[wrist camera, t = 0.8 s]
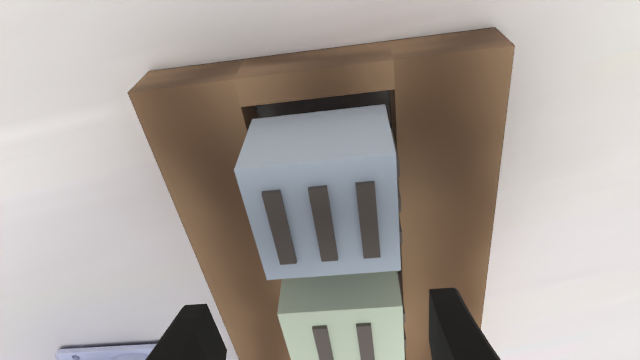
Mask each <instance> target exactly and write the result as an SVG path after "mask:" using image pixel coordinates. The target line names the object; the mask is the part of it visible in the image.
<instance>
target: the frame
mask: <svg viewBox="0 0 640 360" xmlns="http://www.w3.org/2000/svg"><path fill="white" fill-rule="evenodd" d="M514 48H515V45H514V44H513V43H512V42H510V41H509V40H508V39H507V38H506V37H505V36H504V35H503V34H502V33H501V32H500V31H499V30H497V29H496V28H487V29H479V30H471V31H463V32H455V33H447V34H439V35H432V36H424V37H416V38H408V39H400V40H392V41H384V42H376V43H368V44H360V45H353V46H345V47H337V48H329V49H321V50H313V51H305V52H297V53H289V54H281V55H274V56H266V57H258V58H250V59H242V60H234V61H226V62H218V63H210V64H202V65H195V66H187V67H179V68H171V69H163V70H155V71H149V72H148V73H147V74H146V75H145V76H144V77H143V78H142V79H141V80H140V81H139V82H138V83H137V84H136V85H135V86H134V87H133V88H132V89H131V90H130V91H129V92H128V95H129V97H130V99H131V102H132V104H133V107H134V109H135V111H136V114H137V116H138V119H139V121H140V123H141V126H142V128H143V131H144V133H145V135H146V138H147V140H148V143H149V145H150V147H151V150H152V152H153V155H154V157H155V159H156V162H157V164H158V167H159V169H160V171H161V174H162V176H163V179H164V181H165V183H166V186H167V188H168V191H169V193H170V195H171V198H172V200H173V202H174V205H175V207H176V210H177V212H178V214H179V217H180V219H181V222H182V224H183V226H184V229H185V231H186V234H187V236H188V238H189V241H190V243H191V246H192V248H193V250H194V253H195V255H196V258H197V260H198V262H199V265H200V267H201V270H202V272H203V274H204V277H205V279H206V282H207V284H208V286H209V289H210V291H211V293H212V296H213V298H214V301H215V303H216V305H217V308H218V310H219V313H220V315H221V317H222V320H223V322H224V325H225V327H226V329H227V332H228V334H229V337H230V339H231V341H232V344H233V346H234V349H235V351H236V353H237V356H238V358H239V360H291V358H290V355H289V352H288V348H287V345H286V342H285V338H284V335H283V332H282V328H281V325H280V322H279V318H278V315H277V312H278V304H279V297H280V290H281V283H282V279H275V280H267V279H266V275H265V272H264V269H263V265H262V262H261V259H260V255H259V252H258V249H257V245H256V242H255V239H254V235H253V232H252V229H251V225H250V222H249V219H248V215H247V212H246V209H245V205H244V202H243V199H242V195H241V192H240V189H239V185H238V182H237V179H236V175H235V172H234V168H235V166H236V163H237V160H238V157H239V154H240V152H241V149H242V146H243V143H244V140H245V138H246V135H247V132H248V129H249V126H250V124H251V121H252V119H257V118H258V114H257V110H256V106H255V105H264V104H272V103H281V102H290V101H298V100H307V99H316V98H325V97H333V96H342V95H351V94H359V93H368V92H377V91H386V90H390V103H391V124H392V130H393V135H394V139H395V144H396V148H397V152H398V157H399V161H400V177H397V182H398V187H399V192H400V196H401V212H399V217H400V223H401V228H402V240H403V244H400V259H401V271H399V277H400V283H401V290H402V296H403V302H404V309H405V319H406V323H404V328H405V334H406V346H407V348H404V352H405V360H432V357H431V351H430V345H429V289H439V288H456V289H457V290H458V291H459V293H460V295H461V297H462V299H463V301H464V302H465V304H466V306H467V308H468V310H469V311H470V313H471V315H472V316H473V318H474V320H475V322H476V323H477V325H478V326H479V328H480V330H481V322H482V314H483V305H484V297H485V289H486V280H487V272H488V264H489V255H490V247H491V239H492V230H493V222H494V214H495V206H496V197H497V189H498V181H499V172H500V164H501V156H502V147H503V139H504V131H505V122H506V114H507V106H508V97H509V89H510V81H511V72H512V64H513V56H514Z"/></svg>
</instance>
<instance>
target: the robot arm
mask: <svg viewBox="0 0 640 360" xmlns="http://www.w3.org/2000/svg"><path fill="white" fill-rule="evenodd" d="M429 345H430V351H431V357H432V360H500V358H499V357H498V355H497V354H496V352H495V351H494V350H493V348H492V347H491V345H490V344H489V342H488V341H487V339H486V337H485V336H484V334H483V333H482V331H481V330H480V328H479V326H478V325H477V323H476V322H475V320H474V318H473V316H472V315H471V313H470V311H469V310H468V308H467V306H466V304H465V302H464V301H463V299H462V297H461V295H460V293H459V291H458V290H457V289H456V288H439V289H429ZM226 353H227V349H226V347H225V345H224V342H223V340H222V338H221V335H220V333H219V331H218V329H217V326H216V324H215V322H214V319H213V317H212V315H211V313H210V310H209V308H208V306H207V304H197V305H185V306H184V307H183V308H182V309H181V310H180V312H179V313H178V315H177V316H176V317H175V319H174V320H173V322H172V323H171V325H170V326H169V327H168V329H167V330H166V332H165V333H164V334H163V336H162V337H161V339H160V340H159V341H158V343H157V344H142V345H124V346H107V347H89V348H72V349H60V350H58V351H57V353H56V355H55V357H56V359H57V360H226Z"/></svg>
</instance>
